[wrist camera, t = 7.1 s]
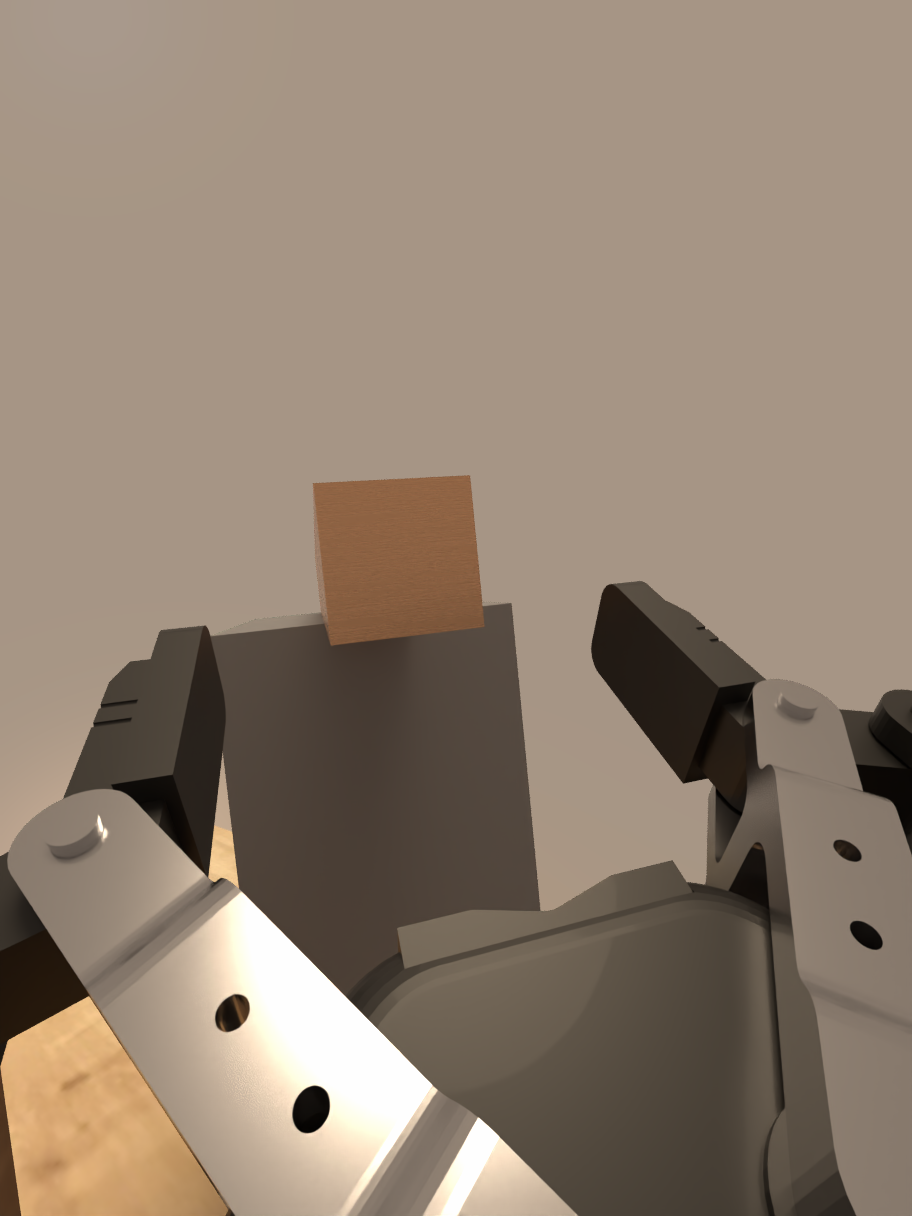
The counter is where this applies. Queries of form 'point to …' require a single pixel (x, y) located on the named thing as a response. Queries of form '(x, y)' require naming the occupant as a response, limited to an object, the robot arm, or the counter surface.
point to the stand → (375, 782)
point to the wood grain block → (7, 1166)
